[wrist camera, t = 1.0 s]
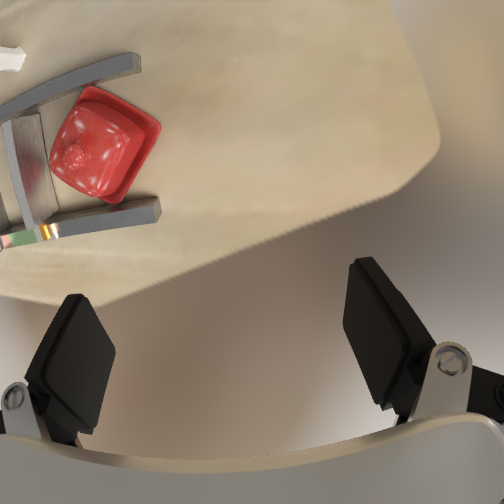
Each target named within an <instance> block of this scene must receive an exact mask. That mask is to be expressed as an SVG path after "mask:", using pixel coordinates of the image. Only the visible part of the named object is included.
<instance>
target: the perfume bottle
mask: <svg viewBox="0 0 504 504" xmlns="http://www.w3.org/2000/svg"><path fill="white" fill-rule="evenodd" d="M26 56H27V54H26V53H25V51H24V50H23V49H22V48H21V47H17V48H13V49H12V48H7V47H2V46H0V71H5V72H8V73H13V72H19V71H20V70H21V67H22V65H23V63H24V61H25V58H26Z"/></svg>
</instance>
